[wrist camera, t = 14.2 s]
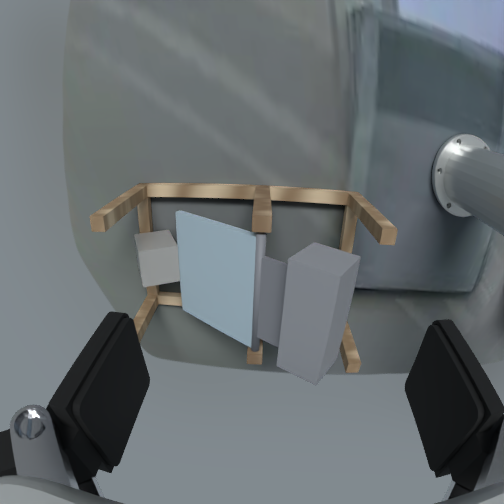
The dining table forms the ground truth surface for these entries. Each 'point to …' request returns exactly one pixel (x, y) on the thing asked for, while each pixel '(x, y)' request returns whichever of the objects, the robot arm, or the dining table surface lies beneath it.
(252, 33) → the dining table surface
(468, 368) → the robot arm
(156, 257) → the light grey block
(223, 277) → the trapdoor
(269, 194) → the frame
